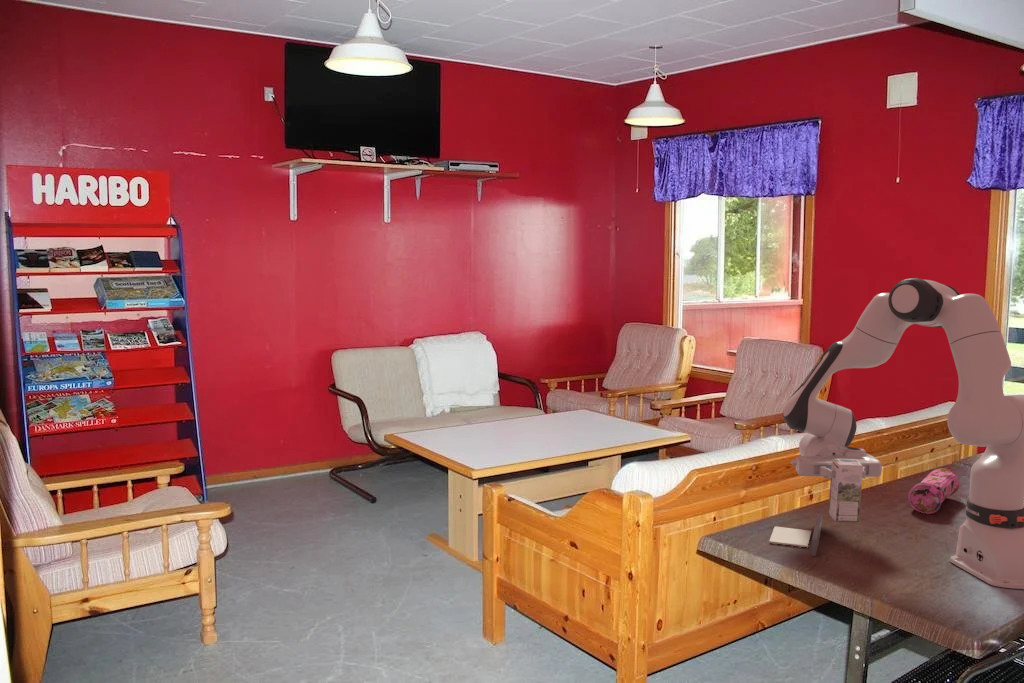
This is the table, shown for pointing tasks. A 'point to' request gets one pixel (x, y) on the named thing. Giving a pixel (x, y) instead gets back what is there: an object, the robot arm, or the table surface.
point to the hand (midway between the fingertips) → (847, 475)
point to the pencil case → (933, 491)
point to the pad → (790, 536)
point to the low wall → (816, 534)
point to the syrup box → (846, 490)
